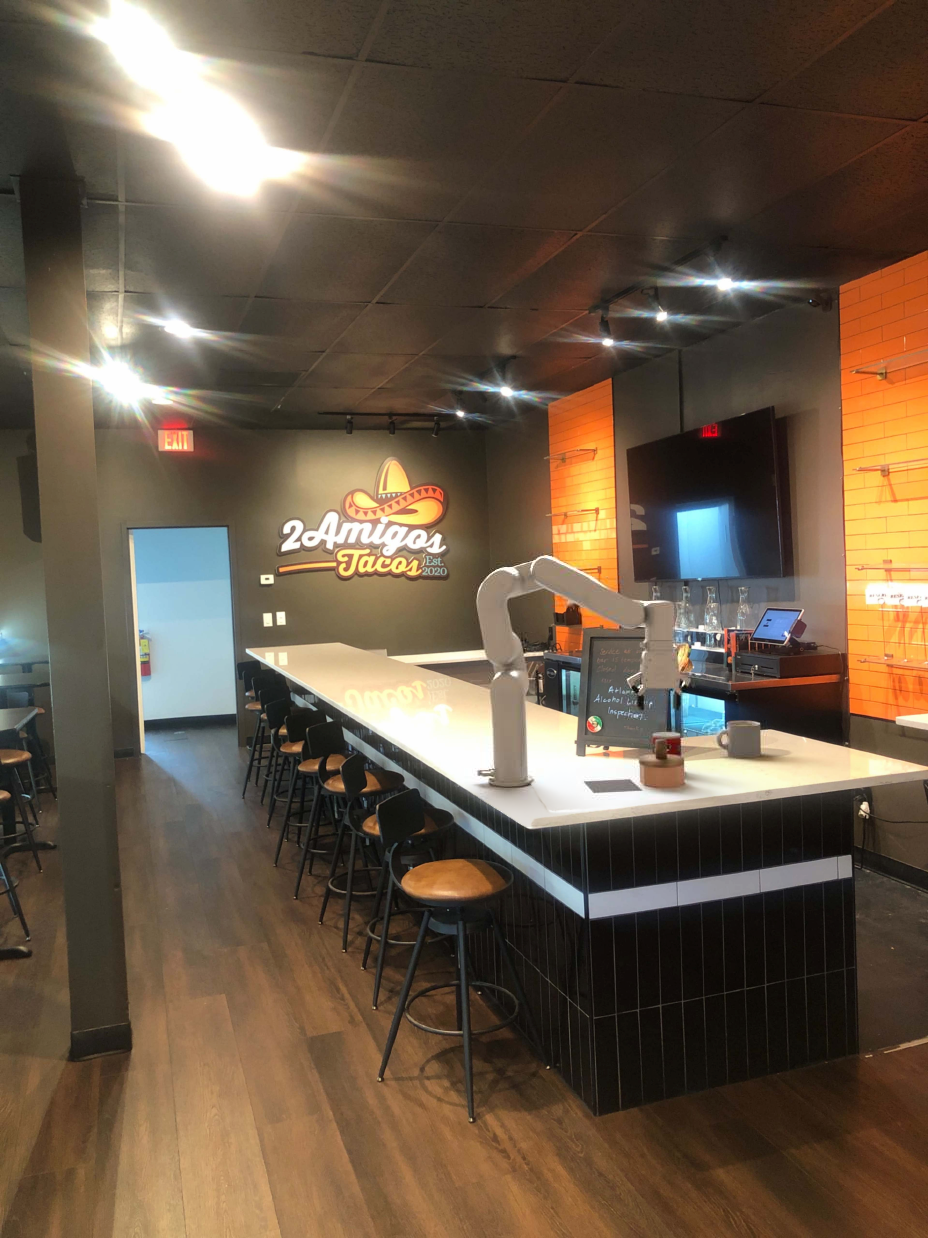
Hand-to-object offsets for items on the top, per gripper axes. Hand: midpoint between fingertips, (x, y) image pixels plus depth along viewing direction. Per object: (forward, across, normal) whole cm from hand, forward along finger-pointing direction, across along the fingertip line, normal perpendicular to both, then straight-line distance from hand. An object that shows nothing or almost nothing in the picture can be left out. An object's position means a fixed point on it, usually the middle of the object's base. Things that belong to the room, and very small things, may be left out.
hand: (658, 709), depth 244 cm
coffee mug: (+20, +35, +33) cm, 52 cm away
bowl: (+21, +1, 0) cm, 21 cm away
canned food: (+21, +7, +15) cm, 26 cm away
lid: (+15, +1, 0) cm, 15 cm away
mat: (+21, -13, -1) cm, 25 cm away
